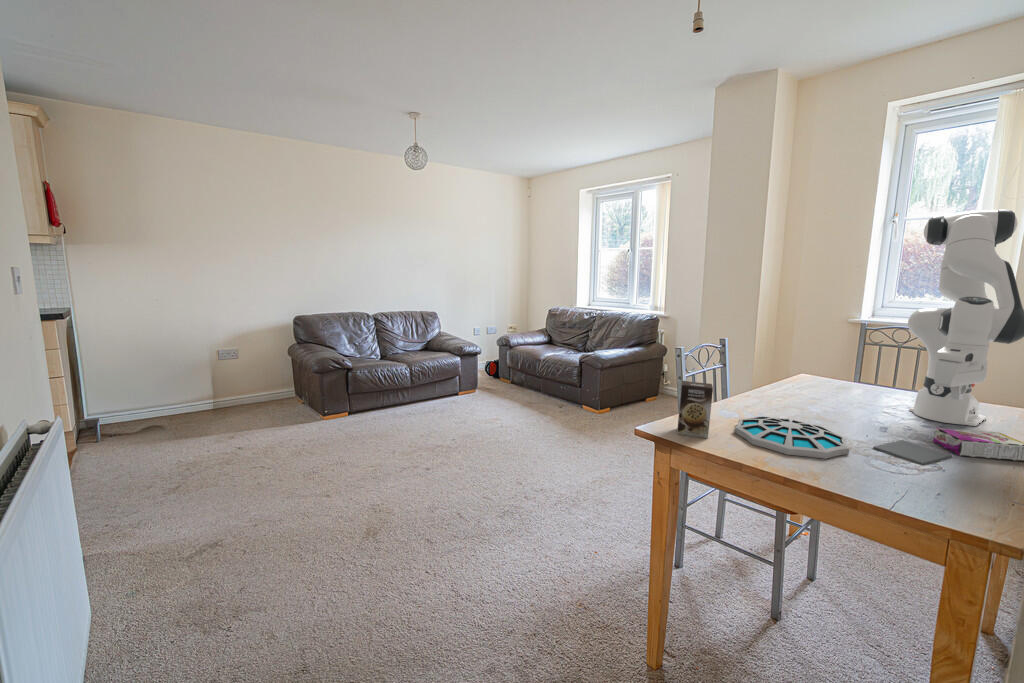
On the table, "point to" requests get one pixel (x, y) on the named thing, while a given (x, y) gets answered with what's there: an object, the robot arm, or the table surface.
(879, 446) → the mat
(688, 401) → the brown food box
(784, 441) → the decorative platform
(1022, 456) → the candy bar box
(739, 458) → the table surface
